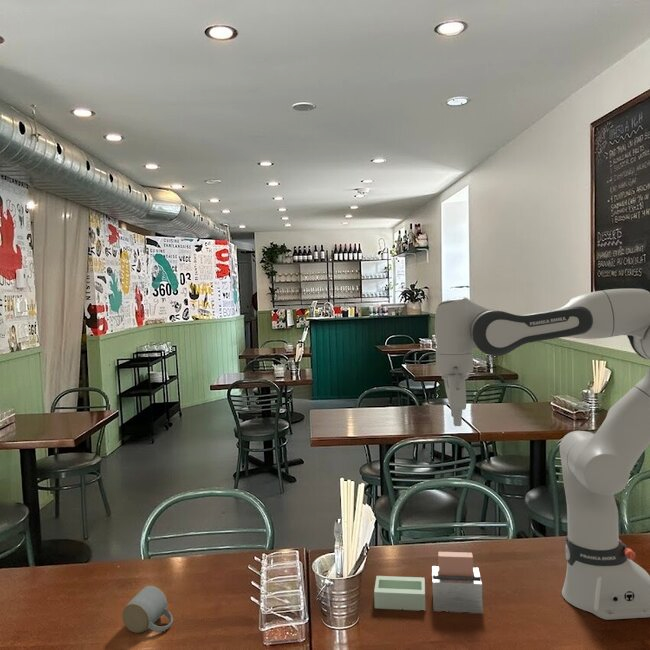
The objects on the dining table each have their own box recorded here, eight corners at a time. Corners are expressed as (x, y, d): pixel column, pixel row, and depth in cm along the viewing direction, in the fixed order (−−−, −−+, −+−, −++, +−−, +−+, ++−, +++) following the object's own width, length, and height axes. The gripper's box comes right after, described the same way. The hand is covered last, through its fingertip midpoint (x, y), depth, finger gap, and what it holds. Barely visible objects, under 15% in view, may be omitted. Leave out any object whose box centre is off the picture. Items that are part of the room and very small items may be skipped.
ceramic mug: (120, 633, 131) (118, 600, 131) (141, 613, 139) (139, 583, 138) (161, 640, 128) (159, 606, 128) (180, 619, 136) (178, 588, 136)
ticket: (473, 593, 138) (472, 552, 138) (474, 598, 136) (473, 557, 135) (439, 591, 139) (438, 551, 139) (439, 597, 137) (438, 556, 136)
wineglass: (343, 555, 165) (341, 515, 165) (359, 561, 162) (358, 519, 161) (331, 563, 161) (329, 521, 160) (347, 569, 157) (345, 526, 157)
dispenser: (479, 595, 141) (478, 565, 140) (482, 613, 133) (481, 581, 132) (432, 593, 142) (431, 563, 142) (433, 611, 135) (432, 579, 134)
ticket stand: (425, 593, 143) (424, 577, 143) (425, 610, 135) (424, 594, 135) (377, 591, 145) (376, 575, 145) (374, 608, 137) (374, 592, 137)
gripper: (471, 370, 128) (473, 431, 129) (464, 359, 148) (466, 412, 149) (442, 370, 129) (444, 431, 130) (439, 360, 149) (441, 412, 150)
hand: (456, 421), depth 139 cm, fingers open, 8 cm apart
